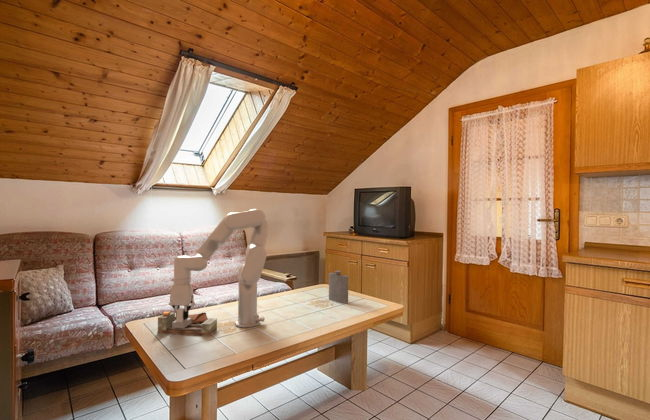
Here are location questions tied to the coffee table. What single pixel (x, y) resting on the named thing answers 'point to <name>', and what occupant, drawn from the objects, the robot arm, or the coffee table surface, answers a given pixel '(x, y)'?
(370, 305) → the coffee table surface
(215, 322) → the rail bed
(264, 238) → the robot arm
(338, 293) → the hip flask
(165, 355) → the coffee table surface
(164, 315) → the orange block
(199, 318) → the sunglasses case
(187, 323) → the carriage
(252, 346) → the coffee table surface
